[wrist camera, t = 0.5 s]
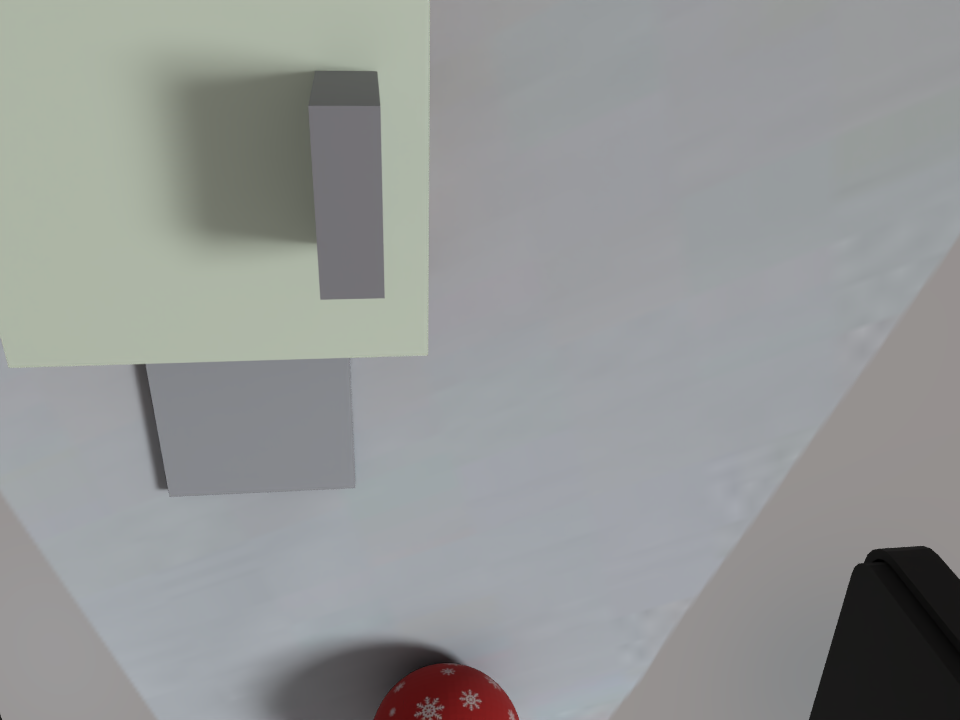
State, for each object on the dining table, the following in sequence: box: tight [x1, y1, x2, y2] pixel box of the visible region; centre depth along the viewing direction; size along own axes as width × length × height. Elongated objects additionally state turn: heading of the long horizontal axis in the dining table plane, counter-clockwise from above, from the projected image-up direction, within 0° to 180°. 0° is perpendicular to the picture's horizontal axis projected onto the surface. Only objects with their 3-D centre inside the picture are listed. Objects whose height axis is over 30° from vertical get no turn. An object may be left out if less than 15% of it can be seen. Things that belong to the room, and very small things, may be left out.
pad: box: [146, 358, 355, 497], centre depth 41 cm, size 9×9×1 cm
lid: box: [0, 0, 430, 368], centre depth 28 cm, size 15×15×6 cm
